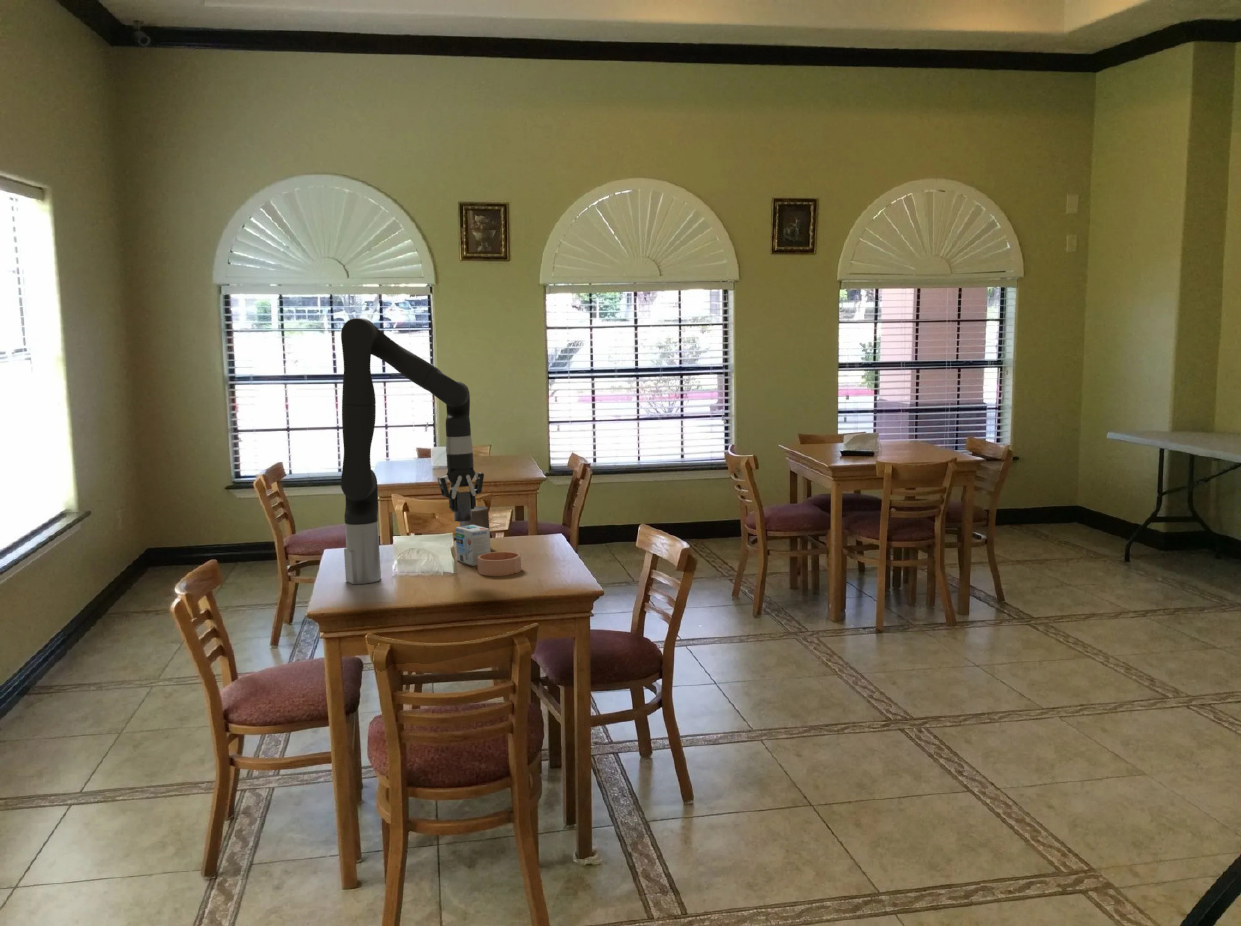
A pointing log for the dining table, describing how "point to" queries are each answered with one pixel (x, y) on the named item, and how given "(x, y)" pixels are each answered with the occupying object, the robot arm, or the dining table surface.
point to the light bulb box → (472, 543)
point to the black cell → (463, 504)
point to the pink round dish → (499, 563)
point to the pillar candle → (478, 517)
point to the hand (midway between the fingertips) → (462, 509)
